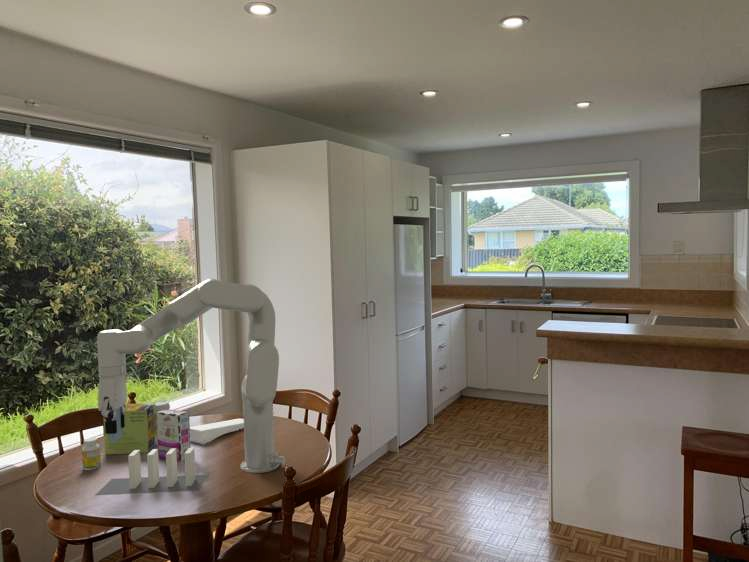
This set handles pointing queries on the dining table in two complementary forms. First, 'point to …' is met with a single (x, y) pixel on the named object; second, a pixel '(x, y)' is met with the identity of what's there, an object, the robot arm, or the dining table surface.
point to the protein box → (135, 430)
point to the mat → (124, 486)
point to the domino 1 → (134, 469)
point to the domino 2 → (153, 468)
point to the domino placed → (119, 434)
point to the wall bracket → (214, 430)
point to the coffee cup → (161, 406)
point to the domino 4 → (190, 466)
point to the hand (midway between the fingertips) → (115, 429)
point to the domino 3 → (171, 467)
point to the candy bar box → (173, 432)
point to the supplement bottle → (91, 454)
